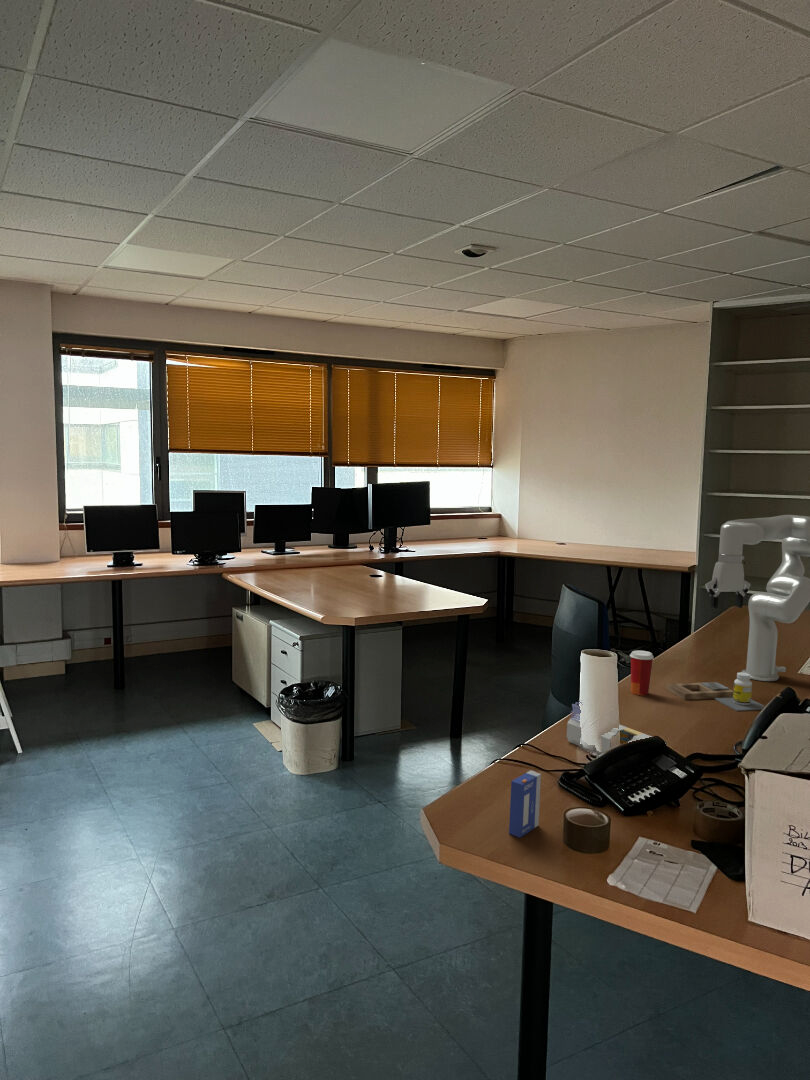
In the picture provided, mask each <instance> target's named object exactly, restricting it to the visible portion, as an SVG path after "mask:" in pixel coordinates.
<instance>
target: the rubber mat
mask: <svg viewBox="0 0 810 1080" xmlns="http://www.w3.org/2000/svg"><path fill="white" fill-rule="evenodd" d="M713 699H714V700H715V701H717V702H718V703H721V704H722V705H724V706H726V707H728V708H730V709H732V710H734V711H736V712H746V711H748V712H749V711H763V710H762V709H763V708H764V707H765V706H766V705H764V704H761V703H760V702H758V701H755V700H753V699H752V698H751V703H750V704H749V705H739V704H736V703H734V702H733V697H729V698H713Z"/></svg>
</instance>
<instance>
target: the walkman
mask: <svg viewBox="0 0 810 1080" xmlns="http://www.w3.org/2000/svg"><path fill="white" fill-rule="evenodd" d="M510 782H511V784H510V786H511V787H510V802H509V804H510V805H509V822H508V823H509V828H508V834H509V835H511V836H514V837H517V838H519V839H520V838H522V837H523V836H526V834H528V833H529V832H531V831H532V830H534V829H535V828H537V827H539V822H540V821H539V819H540V802H541V801H540V800H541V782H542V774H541V773H539V772H536V771H534V770H528V771H527V772H525V773H523V774H522V775H520V776H518V777H516V778H514V779H513V780H511V781H510Z"/></svg>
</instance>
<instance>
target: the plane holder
mask: <svg viewBox="0 0 810 1080" xmlns="http://www.w3.org/2000/svg"><path fill="white" fill-rule="evenodd" d="M666 691H668V692H670V693H672V694H673V695H675V696H676V697H679V698H680V699H682V700H684V701H686V700H689V701H690V700H705V699H707V700H709V699H710V700H711V699H714V698H729V697H733V691H734V689H730V688H729V687H727V686H725V685H724V684H722V683H719V682H718V681H712V682H706V681H705V682H687V683H685V682H684V683H667V684H666Z"/></svg>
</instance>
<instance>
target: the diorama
mask: <svg viewBox="0 0 810 1080" xmlns="http://www.w3.org/2000/svg"><path fill="white" fill-rule="evenodd" d="M580 701H581V700H580V699H579V700H578V702H576V701H575V704H574V703H571V708H572V710H570V713H569V714H570V718H569V720H568V721H567V723H566V739H567V740H568V742H569V743H571V744H573V745H577V746H578V747H580V748H583V747H584V745H583V743H582V744H580V738H581V739H582V734H581V732H582V731H581V727H580V721H579V720H580V713H581V710H580V703H581V704H582V702H580ZM619 731H620V743H621V744H623V743H626V742H628V743H629V742H632V741H636V740H640V739H645V738H649V737H653V736H651V735H649V734H647V733H643V732H641V731H638V730H635V729H633V728H629V727H628V726H625V725H621V724H619V729H618V728H613V729H612V730H611V732H608V733H605V734H604V735H601V736H600V737H601V741H602V743H601V744H602V745H601V746H602V750H601V751H602V752H599V751H597V750H595V753H596V754H597V755H599V756H602V755H601V754H602V753H603V752H605V751H607V750H609V749H610V750H611V742H610V741H611V738H612V737H613V736H616V735H617V733H618V732H619ZM665 744H666V745H667V743H666V742H665Z"/></svg>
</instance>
